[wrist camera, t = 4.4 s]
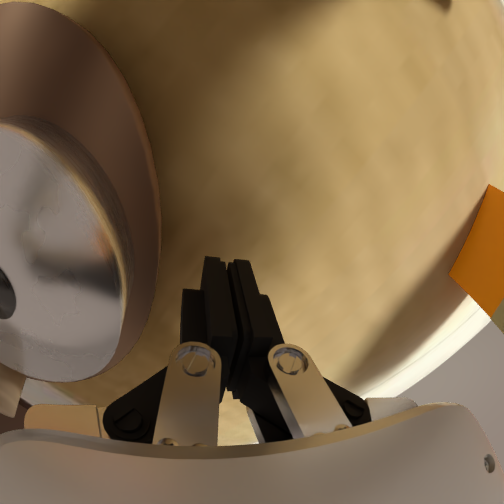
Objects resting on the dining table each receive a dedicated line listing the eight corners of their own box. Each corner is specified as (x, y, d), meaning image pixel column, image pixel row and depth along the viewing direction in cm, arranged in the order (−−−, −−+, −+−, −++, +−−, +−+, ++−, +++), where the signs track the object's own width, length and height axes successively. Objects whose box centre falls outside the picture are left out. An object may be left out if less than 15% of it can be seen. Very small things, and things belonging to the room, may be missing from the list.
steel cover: (147, 113, 8) (121, 118, 5) (139, 353, 13) (133, 402, 11) (-57, 129, 5) (-97, 147, 2) (-19, 317, 10) (-38, 351, 8)
